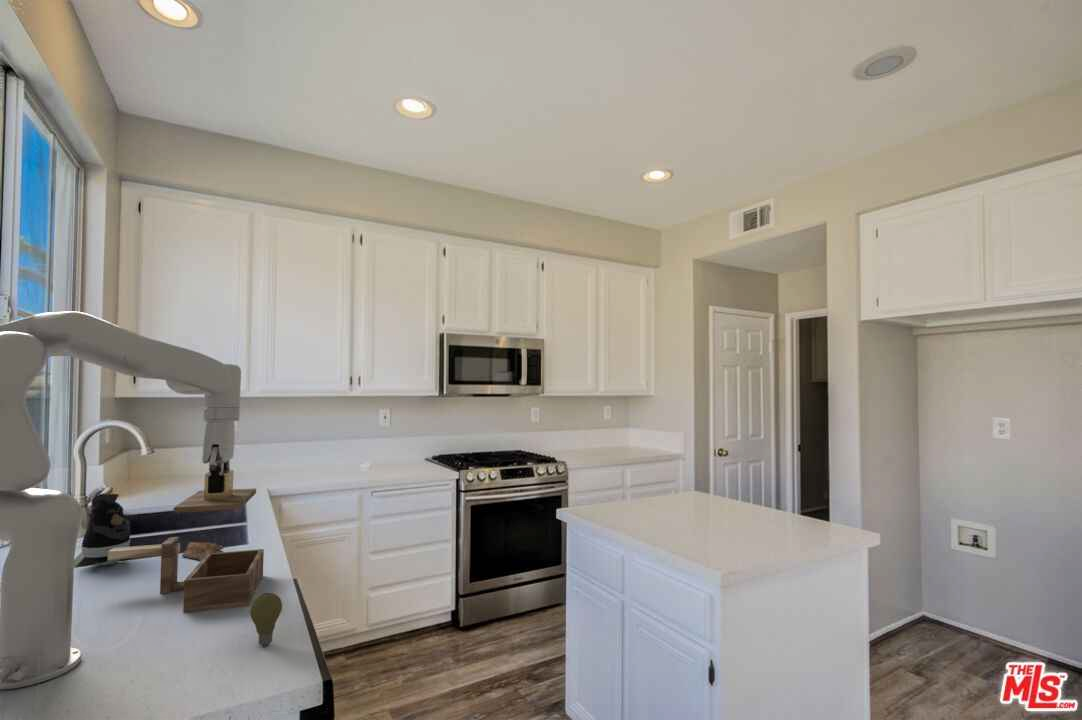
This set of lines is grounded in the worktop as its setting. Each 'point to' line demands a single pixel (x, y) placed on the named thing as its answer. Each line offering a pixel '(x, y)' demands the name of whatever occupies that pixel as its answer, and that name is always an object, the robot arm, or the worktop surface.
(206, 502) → the lid
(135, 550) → the wooden key
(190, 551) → the wooden fragment
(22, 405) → the robot arm
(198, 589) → the wooden box
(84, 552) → the black rounded piece
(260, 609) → the light bulb
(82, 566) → the worktop surface
